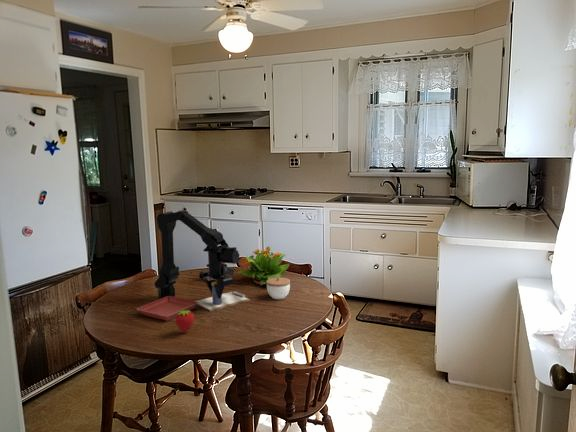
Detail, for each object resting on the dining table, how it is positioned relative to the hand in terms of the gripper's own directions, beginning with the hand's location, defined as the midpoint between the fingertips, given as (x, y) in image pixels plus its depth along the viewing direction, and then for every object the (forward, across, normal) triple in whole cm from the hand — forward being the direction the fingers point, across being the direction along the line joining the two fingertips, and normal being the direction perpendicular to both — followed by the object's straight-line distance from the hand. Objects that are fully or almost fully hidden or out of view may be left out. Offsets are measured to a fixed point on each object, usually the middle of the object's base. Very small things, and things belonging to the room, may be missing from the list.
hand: (216, 297), depth 190 cm
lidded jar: (+4, -10, -26) cm, 28 cm away
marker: (+2, 0, 0) cm, 3 cm away
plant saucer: (+4, +8, +19) cm, 21 cm away
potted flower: (+4, +15, -36) cm, 39 cm away
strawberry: (+4, -17, +24) cm, 30 cm away
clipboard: (+4, +3, -4) cm, 6 cm away
